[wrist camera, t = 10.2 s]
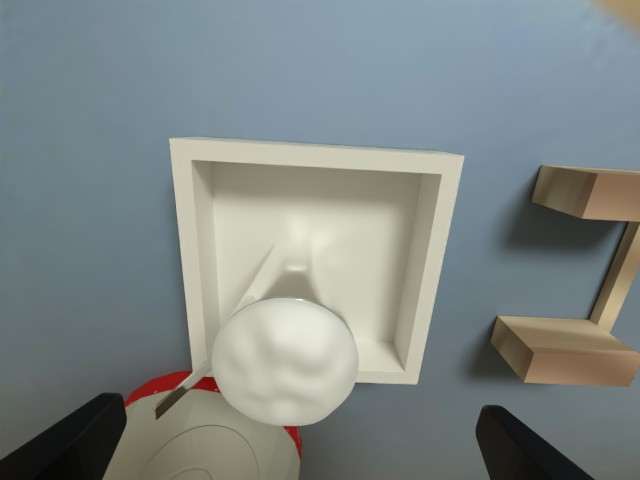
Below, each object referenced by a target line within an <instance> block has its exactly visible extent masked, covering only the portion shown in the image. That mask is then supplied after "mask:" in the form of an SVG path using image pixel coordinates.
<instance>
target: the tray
mask: <svg viewBox="0 0 640 480" xmlns="http://www.w3.org/2000/svg"><path fill="white" fill-rule="evenodd" d="M169 140H170V150H171V160H172V170H173V180H174V190H175V200H176V210H177V220H178V229H179V239H180V249H181V259H182V269H183V279H184V289H185V299H186V309H187V319H188V328H189V338H190V348H191V358H192V368H193V372H194V371H195V370H196V369H197V368H198V367H199V366H201V365H202V364H203V363H204V362H205V361H206V360H207V359H209V358H210V357H211V356H212V350H213V345H214V342H215V339H216V337H217V334H218V332H219V331H220V329H221V328H222V326H223V325H224V324H225V323H226V321H227V320H228V318H229V317H230V315H231V314H232V312H233V311H234V309H235V308H236V306H237V305H238V303H239V302H240V300H241V299H242V297H243V296H244V294H245V293H246V292H247V290H248V289H249V287H250V285H251V284H252V282H253V281H254V279H255V277H256V276H257V274H258V272H259V271H260V269H261V267H262V266H263V264H264V262H265V261H266V259H267V257H268V256H269V254H270V252H271V250H272V249H273V247H274V245H275V244H276V243H278V242H279V241H281V240H283V239H285V238H286V237H288V236H290V235H291V234H294V235H307V236H311V237H313V238H314V239H315V240H316V241H318V242H319V243H320V244H321V245H323V246H324V247H325V249H326V253H327V257H328V260H329V264H330V268H331V271H332V275H333V279H334V282H335V285H336V289H337V291H338V294H339V297H340V299H341V302H342V305H343V308H344V310H345V313H346V316H347V319H348V322H349V325H350V328H351V331H352V333H353V336H354V339H355V342H356V346H357V350H358V357H359V367H358V374H357V378H356V381H355V382H364V383H391V384H417V382H418V378H419V373H420V368H421V363H422V358H423V353H424V349H425V344H426V339H427V334H428V329H429V325H430V320H431V315H432V310H433V305H434V301H435V296H436V291H437V286H438V281H439V277H440V272H441V267H442V262H443V257H444V252H445V248H446V243H447V238H448V233H449V228H450V224H451V219H452V214H453V209H454V204H455V200H456V195H457V190H458V185H459V180H460V175H461V171H462V166H463V161H464V156H462V155H456V154H450V153H444V152H439V151H430V150H413V149H397V148H380V147H363V146H347V145H330V144H313V143H296V142H280V141H263V140H246V139H229V138H213V137H186V138H169ZM204 377H214V374H213V369H211V370H210V371H209V372H208V373H207V374H206V375H205V376H204Z"/></svg>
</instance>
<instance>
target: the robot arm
mask: <svg viewBox="0 0 640 480" xmlns="http://www.w3.org/2000/svg"><path fill="white" fill-rule="evenodd" d="M126 424H127V414H126V409H125V405H124V400H123V396H122V395H121V394H120V393H102V394H100V395H98V396H97V397H95V398H94V399H92V400H91V401H89V402H88V403H86V404H85V405H83V406H82V407H80V408H79V409H77V410H75V411H74V412H72V413H71V414H69V415H68V416H66V417H65V418H63V419H62V420H60V421H59V422H57V423H56V424H54V425H53V426H51V427H50V428H48V429H47V430H45V431H44V432H42V433H41V434H39V435H38V436H36V437H35V438H33V439H32V440H30V441H29V442H27V443H26V444H24V445H23V446H21V447H20V448H18V449H17V450H15V451H14V452H12V453H10V454H9V455H7V456H6V457H4V458H3V459H1V460H0V480H102V479H103V477H104V475H105V473H106V470H107V468H108V466H109V464H110V461H111V459H112V457H113V455H114V452H115V450H116V448H117V446H118V443H119V441H120V439H121V437H122V434H123V432H124V430H125V427H126ZM476 438H477V441H478V444H479V447H480V450H481V453H482V456H483V459H484V462H485V465H486V468H487V471H488V474H489V477H490V480H595V479H593V478H592V477H591V476H590V475H588V474H587V473H586V472H585V471H583V470H582V469H581V468H579V467H578V466H577V465H576V464H574V463H573V462H572V461H571V460H569V459H568V458H567V457H566V456H564V455H563V454H562V453H560V452H559V451H558V450H557V449H555V448H554V447H553V446H552V445H550V444H549V443H548V442H547V441H545V440H544V439H543V438H542V437H540V436H539V435H538V434H536V433H535V432H534V431H533V430H531V429H530V428H529V427H528V426H526V425H525V424H524V423H523V422H521V421H520V420H519V419H517V418H516V417H515V416H514V415H512V414H511V413H510V412H509V411H507V410H506V409H505V408H503V407H502V406H499V405H484V406H483V407H482V409H481V412H480V416H479V419H478V422H477V425H476Z"/></svg>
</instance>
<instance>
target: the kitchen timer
mask: <svg viewBox="0 0 640 480" xmlns="http://www.w3.org/2000/svg"><path fill="white" fill-rule="evenodd" d="M191 373H193V371H185V372H176V373H173V374H169V375H166V376H162V377H159V378H155V379H152V380H151V381H149V382H148V383H146V384H144V385H143V386H141V387H140V388H138V389H137V390H135V391H133V392H132V393H131V394H130V396H129V397H128V398H127V400H126V401H125V402H124V405H125V409H126V414H127V424H126V427H125V430H124V432H123V434H122V437H121V439H120V441H119V443H118V446H117V448H116V450H115V452H114V455H113V457H112V459H111V461H110V464H109V466H108V468H107V470H106V473H105V475H104V477H103V479H102V480H298V479H299V470H300V461H301V437H300V433H299V430H298V426H275V425H270V424H266V423H262V422H259V421H256V420H253V419H251V418H249V417H247V416H245V415H244V414H242V413H241V412H239V411H238V410H236V409H235V408H234V407H232V406H231V405H230V404H229V403H228V402H227V401H226V399H225V398H224V397H223V395H222V393H221V392H220V390H219V388H218V386H217V383H216V381H215V378H214V377H203V378H202V379H201V380H200V381H199V382H197V383H196V384H195V385H194V386H193V387H192V388H191V389H190V390H189V391H188V392H187V393H186V394H185V395H184V396H182V397H181V398H180V399H179V400H178V401H177V402H176V403H175V404H174V405H173V406H172V407H171V408H170V409H169V410H167V411H166V412H165V413H164V414H163V415H162V416H161V417H160V418H159V419H158V420H156V421H155V420H154V415H153V408H154V406H155V405H156V404H157V403H159V402H160V401H161V400H162V399H163V398H164V397H165V396H166V395H168V394H169V393H170V392H171V391H172V390H173V389H174V388H176V387H177V386H178V385H179V384H180V383H181V382H182V381H183V380H185V379H186V378H187V377H188V376H189V375H190V374H191Z"/></svg>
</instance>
